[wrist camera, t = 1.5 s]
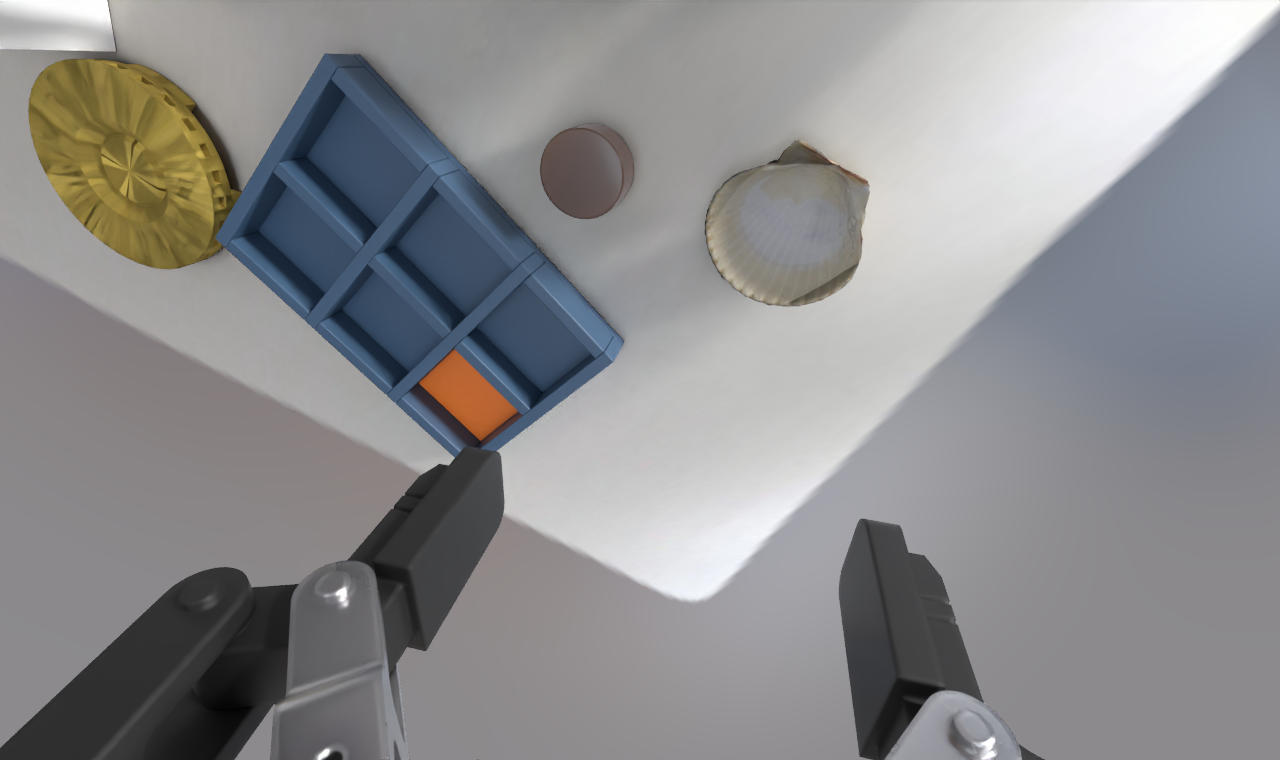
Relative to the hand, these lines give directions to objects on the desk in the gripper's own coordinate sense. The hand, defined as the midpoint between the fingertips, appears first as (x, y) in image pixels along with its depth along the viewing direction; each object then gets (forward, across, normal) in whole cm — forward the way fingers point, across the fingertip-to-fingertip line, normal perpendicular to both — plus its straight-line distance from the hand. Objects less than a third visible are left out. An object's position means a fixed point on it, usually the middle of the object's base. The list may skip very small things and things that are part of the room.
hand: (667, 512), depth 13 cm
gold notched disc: (+22, +37, -1) cm, 43 cm away
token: (+22, +8, -3) cm, 23 cm away
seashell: (+22, -3, -2) cm, 22 cm away
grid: (+22, +18, +5) cm, 29 cm away
